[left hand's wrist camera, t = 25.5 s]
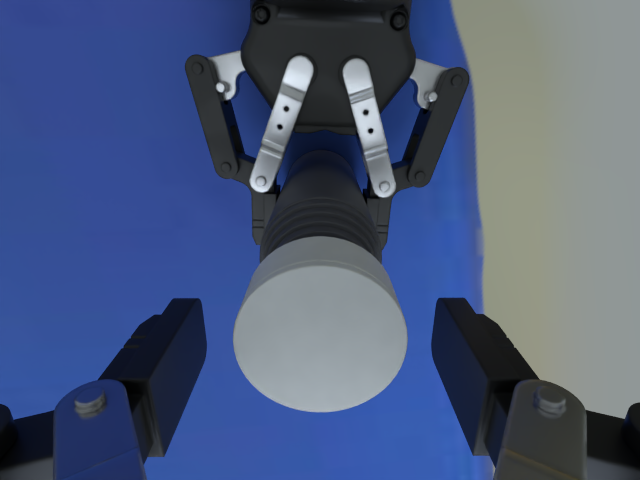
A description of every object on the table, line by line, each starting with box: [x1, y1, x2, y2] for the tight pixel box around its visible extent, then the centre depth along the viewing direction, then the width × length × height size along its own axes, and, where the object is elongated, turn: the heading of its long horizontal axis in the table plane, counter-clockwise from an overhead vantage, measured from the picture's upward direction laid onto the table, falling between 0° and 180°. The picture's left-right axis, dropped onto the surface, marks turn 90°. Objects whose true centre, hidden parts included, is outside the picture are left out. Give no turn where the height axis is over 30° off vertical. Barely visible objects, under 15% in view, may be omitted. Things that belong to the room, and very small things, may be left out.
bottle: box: [260, 150, 382, 264], centre depth 19 cm, size 5×5×18 cm
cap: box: [233, 236, 408, 412], centre depth 11 cm, size 4×4×2 cm
